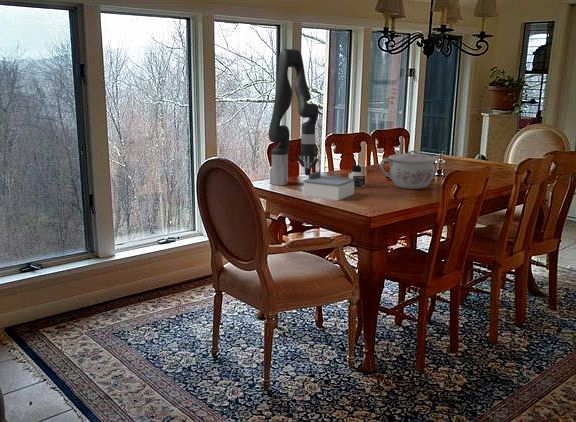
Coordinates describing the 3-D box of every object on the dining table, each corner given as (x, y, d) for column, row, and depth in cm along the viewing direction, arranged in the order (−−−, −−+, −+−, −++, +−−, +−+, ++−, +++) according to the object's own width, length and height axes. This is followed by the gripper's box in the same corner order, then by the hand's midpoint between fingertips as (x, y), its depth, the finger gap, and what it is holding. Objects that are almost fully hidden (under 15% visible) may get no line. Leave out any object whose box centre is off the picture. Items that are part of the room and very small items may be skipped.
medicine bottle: (352, 188, 309) (353, 166, 306) (348, 185, 316) (348, 164, 313) (364, 187, 311) (365, 166, 308) (359, 185, 318) (360, 164, 315)
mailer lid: (303, 181, 286) (303, 175, 286) (320, 176, 302) (320, 170, 301) (338, 186, 276) (339, 179, 275) (355, 180, 291) (355, 174, 290)
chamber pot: (444, 187, 314) (447, 150, 309) (420, 194, 294) (423, 155, 289) (401, 180, 332) (403, 146, 327) (376, 187, 312) (377, 150, 307)
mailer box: (303, 195, 288) (303, 182, 286) (320, 189, 303) (320, 177, 301) (338, 200, 278) (338, 186, 276) (353, 194, 293) (354, 181, 291)
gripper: (293, 142, 291) (293, 175, 295) (315, 144, 284) (315, 177, 288) (301, 141, 297) (300, 173, 301) (322, 142, 290) (322, 175, 294)
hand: (307, 175), depth 295 cm, fingers closed
